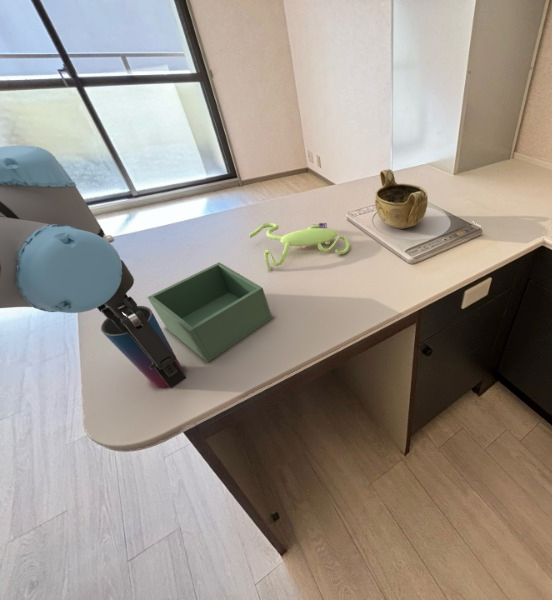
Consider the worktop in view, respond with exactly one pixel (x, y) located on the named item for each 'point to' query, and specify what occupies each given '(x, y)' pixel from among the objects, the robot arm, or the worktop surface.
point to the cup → (133, 350)
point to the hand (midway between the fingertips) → (161, 367)
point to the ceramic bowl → (400, 202)
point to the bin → (212, 309)
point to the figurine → (302, 239)
